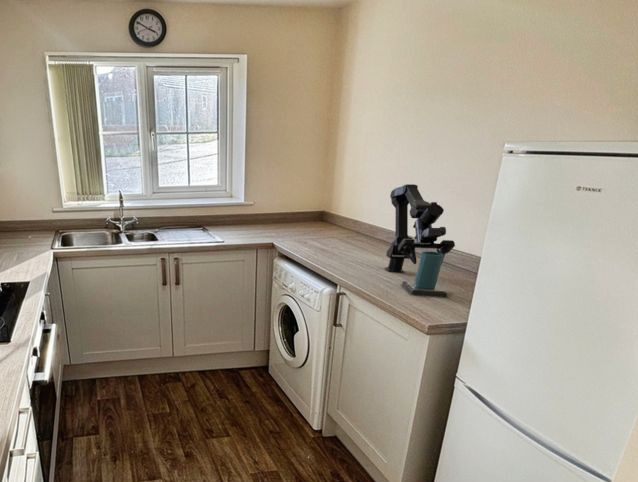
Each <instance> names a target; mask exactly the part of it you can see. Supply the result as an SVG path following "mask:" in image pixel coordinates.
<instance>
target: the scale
mask: <svg viewBox="0 0 638 482" xmlns="http://www.w3.org/2000/svg"><path fill="white" fill-rule="evenodd" d="M406 281H407V280H406ZM406 281H405V280H403V281H402V283H401V285H402V286H403V287H404V288H405V289H406V291H407V292H409V294H410V295H411V296H412V295H413V296H425V297H438V298H439V297H441V298H447V297H448V293H447V291H446V292H445V293H444V292H430V291H416V290H413V289H412V288H411V287H410V286H409V285H408V284H407V283H406Z"/></svg>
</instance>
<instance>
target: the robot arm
mask: <svg viewBox="0 0 638 482" xmlns="http://www.w3.org/2000/svg"><path fill="white" fill-rule="evenodd" d="M418 187H419V186H418V185H417V184H415V183H413V184H411V183H407V184H406V183H405V184H404V185H402V186H398V187H395V188H394V189H392V190H391V191H390V195H389V197H390V199H391V200H390V201H391V205H392V206H393V207H394V209H395V227H394V228H395V229H394V230H395V236H394V237H395V238H394V239H393V241H392V242H390V246H389V248H388V249H387V250H386V255H385V256H386V257H387V258H389V262H388V266H385V269H386V271H387V272H390V273H392V272H393V273H405V270H403V267H404V262H405V259H407V260H410V261H411V262H412V263H413V264H414V265H417V255H416V249H427V250H428V249H432V250H436V252H438V253H442V254H444V257H443V261H442V264H441V266H442V265H443V263H444V259H445V256H446V254H449V253H450V252H451V251H452V250H453V249H454V248H455V247H456V243H455V241H454V240H451V239H443V240H441V242H440V243H435V242H437V241H438V238H440V237H443V236H445V235H447V228H446V227H445V226H440V227H433V224H435V223H436V222H437V221H438V220H439V218H441V216H442V215H443V213H444V211H445V210H444V208H443V207H442V206H441V205H440V204H438V201H430V202H429V201H426V200H425V199H424V198H423V196H422V193H421V192H420V190H419V189H418ZM409 205H410V209H408V208H409V207H408V206H409ZM408 211H409V213H408ZM408 214H409V215H408ZM408 216H410V218H411V219H416V220H415V221H414V223H413V226H412V228H413V229H414V230H415V236H414V238H413V237H411V236H409V233H408V232H409V231H408V228H409V225H408V224H409V223H408V221H409V220H408V219H409V217H408ZM415 240H416V241H415Z"/></svg>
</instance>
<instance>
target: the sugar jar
mask: <svg viewBox="0 0 638 482" xmlns="http://www.w3.org/2000/svg"><path fill="white" fill-rule="evenodd" d="M443 257H444V258H445V256H444V254H442V253H438V252H437V251H427V250H426V251H422V252H421V256H420V260H419V263H418V267H417V272H416V275H415V279H414V281H413V282H414V285H415V286H417V287H421V288H435V286H436V284H437V282H438V279H439V275H440V271H441V267H442V265H443V262H444V259H443ZM442 261H443V262H442ZM441 264H442V265H441Z"/></svg>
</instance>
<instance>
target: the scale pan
mask: <svg viewBox="0 0 638 482" xmlns="http://www.w3.org/2000/svg"><path fill="white" fill-rule="evenodd" d="M414 282H415V281H408V280H406V283H407V284H408V285H409V286H410V287H411V288H412V289H413V290H416V291H430V292H444V293H445V292H446V293H447V291H446V290H445V289H444V288H443V287H442V286H441V285H439V284H438V283H436V286H435V288H421V287H417V286H415V285H414Z"/></svg>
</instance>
